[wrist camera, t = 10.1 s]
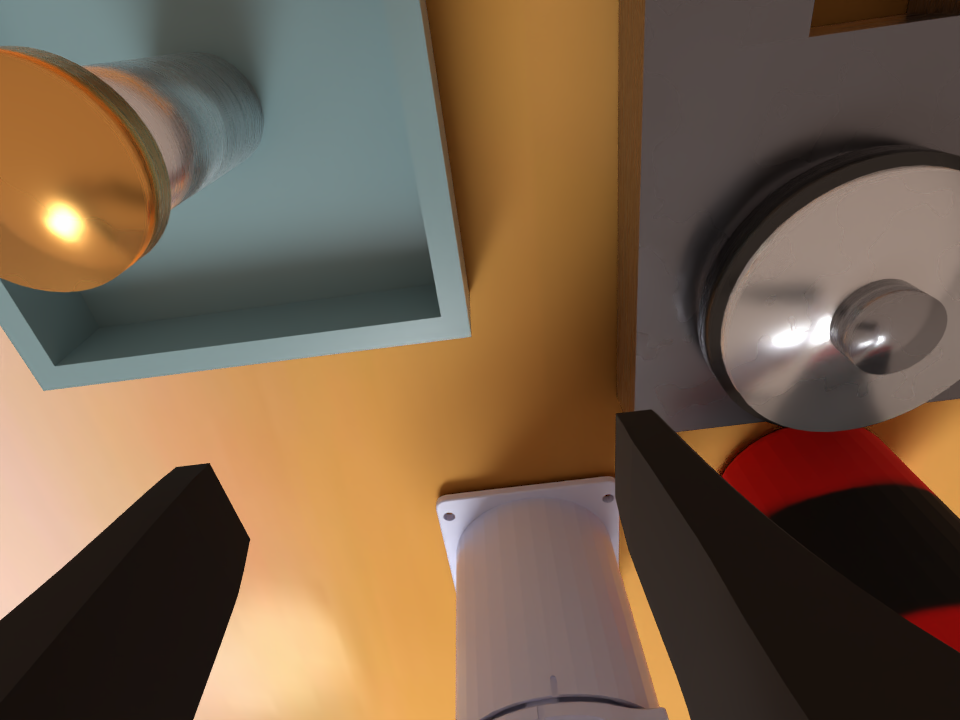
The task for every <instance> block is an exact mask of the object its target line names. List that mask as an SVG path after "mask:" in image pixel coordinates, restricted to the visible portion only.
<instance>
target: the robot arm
mask: <svg viewBox="0 0 960 720" xmlns="http://www.w3.org/2000/svg"><path fill="white" fill-rule="evenodd" d="M607 494H610V495H609V496H605V495H607ZM436 510H437V514H438V519H439V523H440V527H441V531H442V535H443V540H444V544H445V548H446V552H447V557H448V561H449V565H450V569H451V573H452V578H453V582H454V586H455V590H456V720H669V719H668V715H667V712H666V709H665V708H663V707H659V704H658V700H657V697H656V693H655V690H654V687H653V683H652V680H651V676H650V673H649V669H648V666H647V663H646V659H645V656H644V652H643V649H642V645H641V642H640V639H639V635H638V632H637V628H636V625H635V621H634V618H633V615H632V611H631V608H630V604H629V601H628V597H627V594H626V591H625V587H624V584H623V580H622V577H621V573H620V570H619V515H620V519H621V523H622V527H623V530H624V534H625V538H626V542H627V546H628V549H629V552H630V555H631V558H632V560H633V563H634V566H635V568H636V571H637V574H638V576H639V579H640V582H641V584H642V587H643V590H644V592H645V595H646V598H647V600H648V603H649V605H650V608H651V611H652V613H653V616H654V618H655V621H656V624H657V626H658V629H659V631H660V634H661V637H662V639H663V642H664V645H665V647H666V650H667V652H668V655H669V658H670V660H671V663H672V665H673V668H674V671H675V673H676V676H677V679H678V682H679V685H680V687H681V690H682V693H683V696H684V699H685V702H686V705H687V708H688V711H689V715H690V718H691V720H960V652H958V651H957V650H955V649H953V648H952V647H950V646H948V645H947V644H945V643H944V642H942V641H940V640H939V639H937V638H936V637H934V636H932V635H931V634H929V633H928V632H926V631H924V630H923V629H921V628H919V627H918V626H916V625H915V624H913V623H911V622H910V621H908V620H907V619H905V618H904V617H902V616H901V615H899V614H898V613H896V612H895V611H893V610H892V609H890V608H889V607H887V606H886V605H884V604H883V603H881V602H880V601H878V600H877V599H875V598H874V597H872V596H871V595H869V594H868V593H867V592H865V591H864V590H862V589H861V588H860V587H858V586H857V585H855V584H854V583H853V582H851V581H850V580H848V579H847V578H846V577H844V576H843V575H841V574H840V573H839V572H837V571H836V570H834V569H833V568H832V567H830V566H829V565H828V564H826V563H825V562H824V561H822V560H821V559H820V558H818V557H817V556H816V555H814V554H813V553H812V552H810V551H809V550H808V549H807V548H805V547H804V546H803V545H801V544H800V543H799V542H798V541H796V540H795V539H794V538H793V537H791V536H790V535H789V534H788V533H787V532H785V531H784V530H783V529H782V528H780V527H779V526H778V525H777V524H775V523H774V522H773V521H772V520H770V519H769V518H768V517H767V516H766V515H765V514H763V513H762V512H761V511H760V510H759V509H757V508H756V507H755V506H754V505H753V504H752V503H750V502H749V501H748V500H747V499H746V498H745V497H744V496H743V495H741V494H740V493H739V492H738V491H737V490H736V489H735V488H734V487H733V486H731V485H730V484H729V483H728V482H727V481H726V480H725V479H724V478H722V477H721V476H720V475H719V474H718V473H717V472H716V471H715V470H714V469H713V468H712V467H711V466H710V465H708V464H707V463H706V462H705V461H704V460H703V459H702V458H701V457H700V456H699V455H698V454H697V453H696V452H695V451H694V450H693V449H692V448H691V447H690V446H689V445H688V444H687V443H686V442H685V441H684V440H683V439H682V438H681V437H680V436H679V435H678V434H677V433H676V432H675V431H674V430H673V429H672V428H671V427H670V426H669V425H668V424H667V423H666V422H665V421H664V420H663V419H662V418H661V417H660V416H659V415H658V414H657V413H656V412H654V411H653V410H652V409H649V410H641V411H633V412H625V413H616V450H615V478H614V477H611V476H604V477H595V478H587V479H578V480H570V481H561V482H552V483H544V484H535V485H526V486H518V487H509V488H500V489H492V490H483V491H474V492H466V493H457V494H448V495H443V496H441V497H439V498H438V500H437V504H436ZM446 513H453V514H446ZM249 542H250V538H249V536H248V534H247V532H246V531H245V529H244V527H243V525H242V523H241V521H240V519H239V518H238V516H237V514H236V512H235V510H234V508H233V506H232V504H231V503H230V501H229V499H228V497H227V495H226V493H225V491H224V489H223V488H222V486H221V484H220V482H219V480H218V478H217V476H216V475H215V473H214V471H213V469H212V467H211V465H210V463H207V464H198V465H190V466H182V467H176V468H175V469H173V470H172V471H171V472H170V473H168V474H167V475H166V476H165V477H163V478H162V479H161V480H160V481H159V482H158V483H156V484H155V485H154V486H153V487H152V488H151V489H149V490H148V491H147V492H146V493H145V494H144V495H143V496H142V497H140V498H139V499H138V500H137V501H136V502H135V503H134V504H133V505H132V506H130V507H129V508H128V509H127V510H126V511H125V512H124V513H123V514H122V515H120V516H119V517H118V518H117V519H116V520H115V521H114V522H113V523H112V524H111V525H109V526H108V527H107V528H106V529H105V530H104V531H103V532H102V533H101V534H99V535H98V536H97V537H96V538H95V539H94V540H93V541H92V542H91V543H89V544H88V545H87V546H86V547H85V548H84V549H83V550H82V551H81V552H79V553H78V554H77V555H76V556H75V557H74V558H73V559H72V560H71V561H69V562H68V563H67V564H66V565H65V566H64V567H63V568H62V569H60V570H59V571H58V572H57V573H56V574H55V575H53V576H52V577H51V578H50V579H49V580H47V581H46V582H45V583H44V584H43V585H42V586H40V587H39V588H38V589H37V590H36V591H35V592H33V593H32V594H31V595H30V596H29V597H27V598H26V599H25V600H24V601H23V602H22V603H20V604H19V605H18V606H17V607H16V608H14V609H13V610H12V611H11V612H10V613H9V614H7V615H6V616H5V617H4V618H3V619H1V620H0V720H193V719H194V716H195V713H196V711H197V708H198V705H199V702H200V700H201V697H202V694H203V691H204V689H205V686H206V683H207V680H208V678H209V675H210V672H211V669H212V667H213V664H214V661H215V659H216V656H217V653H218V650H219V648H220V645H221V642H222V639H223V636H224V634H225V631H226V628H227V625H228V622H229V619H230V617H231V614H232V611H233V608H234V605H235V602H236V599H237V596H238V593H239V589H240V584H241V580H242V576H243V572H244V567H245V562H246V557H247V552H248V547H249Z"/></svg>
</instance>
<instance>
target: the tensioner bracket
mask: <svg viewBox="0 0 960 720" xmlns="http://www.w3.org/2000/svg"><path fill="white" fill-rule="evenodd" d="M814 2H815V0H619V87H618V279H617V398H618V400H619V403H620V405H621V408H622V410H623V412H624V413H625V412H633V411H641V410H649V409H652V410H653V411H654V412H656V413H657V414H658V415H659V416H660V417H661V418H662V419H663V420H664V421H665V422H666V423H667V424H668V425H669V426H670V427H671V428H672V429H673V430H674V431H675V432H681V431H689V430H698V429H706V428H714V427H723V426H731V425H740V424H748V423H757V422H765V421H766V422H768V423H772V424H775V425H779V426H782V427H789V428H793V429H798V430H804V431H813V432H833V431H845V430H851V429H857V428H862V427H866V426H869V425H873V424H877V423H880V422H883V421H886V420H889V419H892V418H894V417H897V416H899V415H901V414H904V413H906V412H908V411H910V410H913V409H914V408H916V407H918V406H920V405H922V404H924V403H926V402H935V401H943V400H952V399H960V0H909V4H908V8H907V12H906V14H901V15H894V16H887V17H880V18H873V19H867V20H860V21H853V22H846V23H839V24H832V25H825V26H818V27H811V20H812V14H813V8H814ZM810 27H811V28H810Z"/></svg>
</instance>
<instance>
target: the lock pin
mask: <svg viewBox="0 0 960 720" xmlns="http://www.w3.org/2000/svg"><path fill="white" fill-rule="evenodd" d="M263 129H264V117H263V111H262V107H261V103H260V101H259V98H258V96H257V94H256V92H255V90H254V88H253V87H252V85H251V83H250V82H249V81H248V80H247V78H246V77H245V76H244V75H243V74H242V73H241V72H240V71H239V70H238V69H237V68H236V67H234V66H233V65H232V64H230V63H229V62H227V61H226V60H224V59H222V58H220V57H218V56H215V55H212V54H209V53H204V52H186V53H178V54H170V55H162V56H154V57H146V58H138V59H130V60H122V61H114V62H106V63H99V64H91V65H83V66H80V65H78V64H76V63H74V62H72V61H70V60H68V59H66V58H63V57H61V56H58V55H55V54H53V53H50V52H47V51H44V50H39V49H34V48H30V47H22V46H0V278H2V279H4V280H7V281H10V282H12V283H15V284H18V285H21V286H25V287H29V288H33V289H38V290H44V291H50V292H76V291H83V290H88V289H92V288H95V287H98V286H101V285H103V284H105V283H107V282H109V281H111V280H113V279H114V278H116V277H117V276H118V275H120V274H121V273H122V272H124V271H125V270H126V269H128V268H129V267H130V266H132V265H133V264H134V263H135V262H137V261H138V260H139V259H141V258H142V257H143V256H145V255H146V254H147V253H148V252H150V251H151V250H152V249H153V247H154V246H155V245H156V244H157V243H158V241H159V240H160V238H161V237H162V235H163V233H164V231H165V229H166V226H167V224H168V220H169V215H170V211H171V210H172V209H173V208H175V207H176V206H178V205H179V204H181V203H182V202H184V201H185V200H187V199H188V198H190V197H191V196H193V195H194V194H196V193H197V192H199V191H200V190H202V189H203V188H205V187H206V186H208V185H209V184H211V183H212V182H214V181H215V180H217V179H218V178H220V177H221V176H223V175H224V174H226V173H227V172H229V171H230V170H232V169H233V168H235V167H236V166H238V165H239V164H241V163H242V162H244V161H245V160H246V159H248V158H249V157H250V156H251V155H252V154H253V153H254V152H255V151H256V149H257V148H258V146H259V144H260V141H261V139H262V135H263Z"/></svg>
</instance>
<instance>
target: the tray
mask: <svg viewBox="0 0 960 720" xmlns="http://www.w3.org/2000/svg"><path fill="white" fill-rule="evenodd" d="M0 46H22V47H30V48H34V49H39V50H44V51H47V52H50V53H53V54H55V55H58V56H61V57H63V58H66V59H68V60H70V61H72V62H74V63H76V64H78V65H80V66H83V65H91V64H99V63H106V62H114V61H122V60H130V59H138V58H146V57H154V56H162V55H170V54H178V53H186V52H204V53H209V54H212V55H215V56H218V57H220V58H222V59H224V60H226V61H227V62H229V63H230V64H232V65H233V66H234V67H236V68H237V69H238V70H239V71H240V72H241V73H242V74H243V75H244V76H245V77H246V78H247V80H248V81H249V82H250V83H251V85H252V87H253V88H254V90H255V92H256V94H257V96H258V98H259V101H260V103H261V107H262V111H263V117H264V129H263V135H262V139H261V141H260V144H259V146H258V148H257V149H256V151H255V152H254V153H253V154H252V155H251V156H250V157H249V158H248V159H246V160H245V161H244V162H242V163H241V164H239V165H238V166H236V167H235V168H233V169H232V170H230V171H229V172H227V173H226V174H224V175H223V176H221V177H220V178H218V179H217V180H215V181H214V182H212V183H211V184H209V185H208V186H206V187H205V188H203V189H202V190H200V191H199V192H197V193H196V194H194V195H193V196H191V197H190V198H188V199H187V200H185V201H184V202H182V203H181V204H179V205H178V206H176V207H175V208H173V209H172V210H171V211H170V215H169V220H168V224H167V226H166V229H165V231H164V233H163V235H162V237H161V238H160V240H159V241H158V243H157V244H156V245H155V246H154V247H153V249H152V250H151V251H150V252H148V253H147V254H146V255H145V256H143V257H142V258H141V259H139V260H138V261H137V262H135V263H134V264H133V265H132V266H130V267H129V268H128V269H126V270H125V271H124V272H122V273H121V274H120V275H118V276H117V277H116V278H114V279H113V280H111V281H109V282H107V283H105V284H103V285H101V286H98V287H95V288H92V289H88V290H83V291H76V292H50V291H44V290H38V289H33V288H29V287H25V286H21V285H18V284H15V283H12V282H10V281H7V280H4V279H2V278H0V326H1V327H2V329H3V330H4V332H5V333H6V335H7V336H8V338H9V339H10V341H11V342H12V344H13V345H14V347H15V348H16V350H17V351H18V353H19V354H20V356H21V357H22V359H23V360H24V362H25V363H26V365H27V366H28V368H29V369H30V371H31V372H32V374H33V375H34V377H35V378H36V380H37V382H38V383H39V385H40V386H41V388H42V389H43V391H46V390H54V389H62V388H70V387H78V386H85V385H93V384H101V383H109V382H117V381H125V380H133V379H141V378H149V377H157V376H165V375H173V374H180V373H188V372H196V371H204V370H212V369H220V368H228V367H236V366H244V365H252V364H260V363H267V362H275V361H283V360H291V359H299V358H307V357H315V356H323V355H331V354H339V353H347V352H355V351H362V350H370V349H378V348H386V347H394V346H402V345H410V344H418V343H426V342H434V341H442V340H449V339H457V338H465V337H471V318H470V294H469V288H468V281H467V274H466V268H465V261H464V254H463V248H462V241H461V234H460V227H459V221H458V214H457V207H456V201H455V194H454V187H453V181H452V174H451V167H450V161H449V154H448V147H447V140H446V134H445V127H444V120H443V114H442V107H441V100H440V94H439V87H438V80H437V73H436V67H435V60H434V53H433V47H432V40H431V33H430V27H429V20H428V13H427V6H426V0H0Z"/></svg>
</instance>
